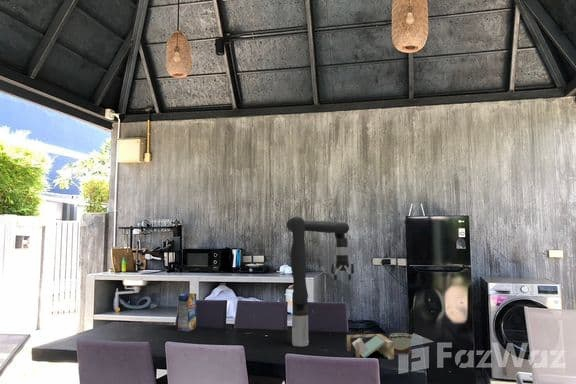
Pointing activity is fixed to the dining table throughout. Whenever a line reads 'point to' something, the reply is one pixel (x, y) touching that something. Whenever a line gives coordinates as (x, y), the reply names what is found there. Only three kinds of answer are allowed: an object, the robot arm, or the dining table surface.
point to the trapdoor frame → (385, 349)
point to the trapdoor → (372, 346)
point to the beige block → (362, 345)
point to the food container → (401, 342)
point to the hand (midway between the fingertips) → (342, 280)
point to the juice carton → (187, 312)
